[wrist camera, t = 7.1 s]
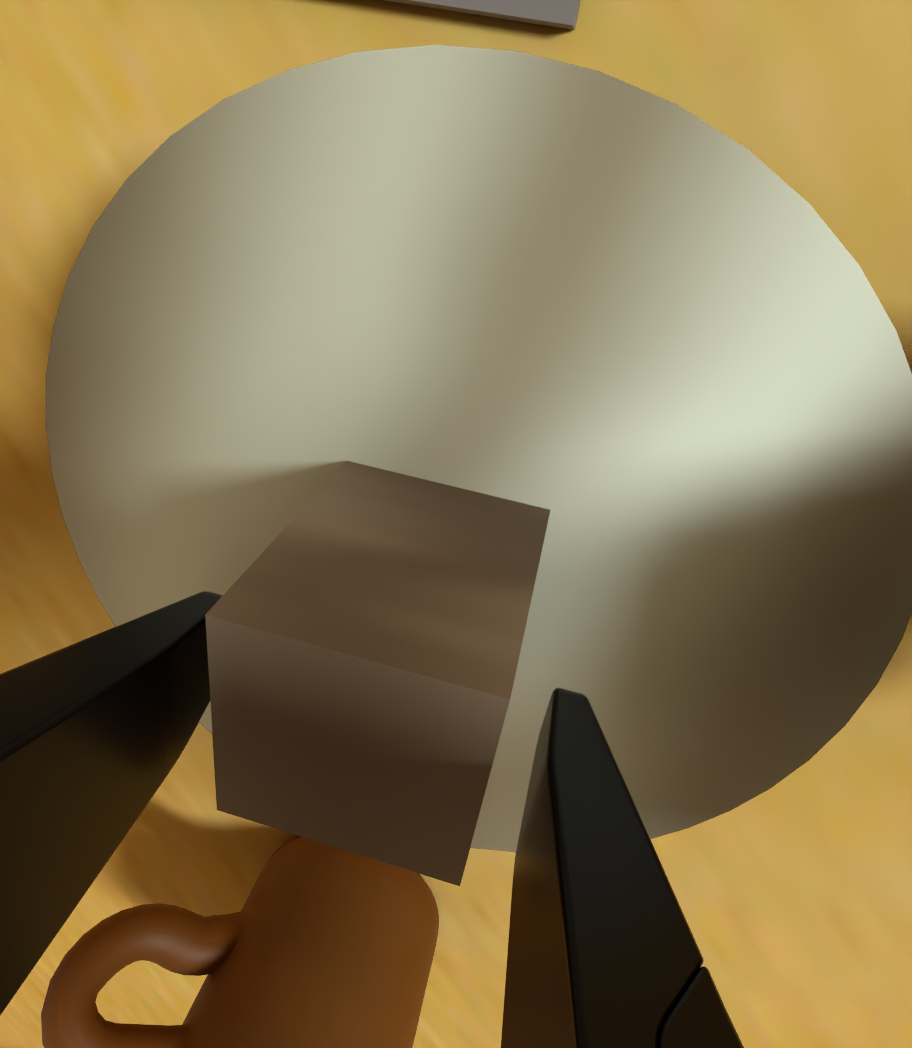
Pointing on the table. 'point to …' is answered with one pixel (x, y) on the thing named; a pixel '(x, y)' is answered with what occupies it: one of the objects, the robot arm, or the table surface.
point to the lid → (484, 445)
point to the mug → (268, 961)
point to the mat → (512, 10)
